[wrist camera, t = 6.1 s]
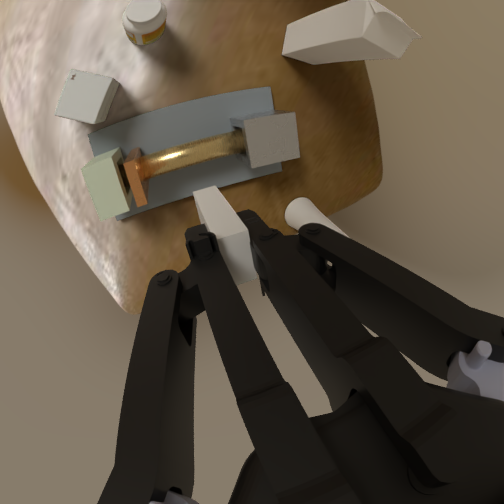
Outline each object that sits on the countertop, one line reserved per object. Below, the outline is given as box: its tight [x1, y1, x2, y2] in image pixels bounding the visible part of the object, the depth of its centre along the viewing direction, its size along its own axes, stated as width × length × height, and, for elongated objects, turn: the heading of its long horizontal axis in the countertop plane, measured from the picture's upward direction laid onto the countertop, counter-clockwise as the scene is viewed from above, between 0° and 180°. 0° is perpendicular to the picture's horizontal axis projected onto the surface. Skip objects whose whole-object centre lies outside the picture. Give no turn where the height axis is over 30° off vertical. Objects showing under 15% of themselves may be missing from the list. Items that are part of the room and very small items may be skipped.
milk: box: [282, 0, 422, 65], centre depth 24 cm, size 6×6×22 cm
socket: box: [81, 147, 133, 221], centre depth 31 cm, size 7×4×8 cm, turn 9°
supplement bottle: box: [122, 0, 167, 45], centre depth 22 cm, size 5×5×10 cm
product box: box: [54, 69, 120, 124], centre depth 25 cm, size 6×6×7 cm
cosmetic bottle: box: [285, 197, 351, 239], centre depth 40 cm, size 6×6×22 cm
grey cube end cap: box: [229, 110, 300, 168], centre depth 35 cm, size 6×7×7 cm
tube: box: [118, 129, 246, 207], centre depth 32 cm, size 5×20×10 cm, turn 99°
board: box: [88, 87, 282, 221], centre depth 37 cm, size 14×27×1 cm, turn 99°
